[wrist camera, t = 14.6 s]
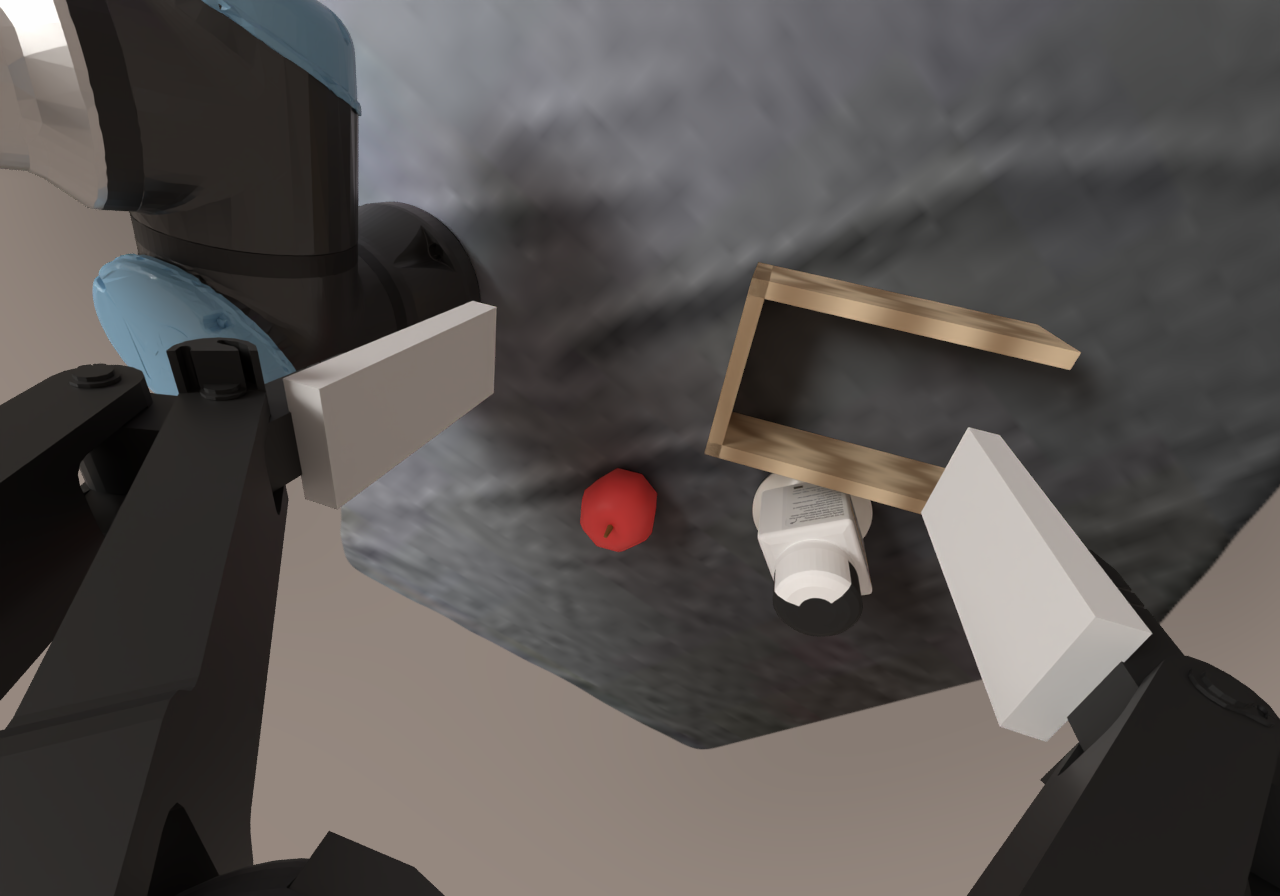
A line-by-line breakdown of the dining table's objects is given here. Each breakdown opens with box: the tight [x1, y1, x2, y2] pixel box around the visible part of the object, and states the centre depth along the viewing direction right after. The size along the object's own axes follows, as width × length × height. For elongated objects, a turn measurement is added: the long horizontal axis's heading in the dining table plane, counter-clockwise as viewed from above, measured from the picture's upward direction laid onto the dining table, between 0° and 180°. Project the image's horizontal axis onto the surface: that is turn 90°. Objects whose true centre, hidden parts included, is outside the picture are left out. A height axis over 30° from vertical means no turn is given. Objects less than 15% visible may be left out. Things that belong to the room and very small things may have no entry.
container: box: [758, 482, 872, 636], centre depth 45 cm, size 8×8×13 cm
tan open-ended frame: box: [705, 262, 1081, 514], centre depth 41 cm, size 21×14×7 cm
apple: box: [580, 468, 657, 552], centre depth 52 cm, size 8×8×8 cm
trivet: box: [753, 473, 872, 538], centre depth 51 cm, size 11×11×1 cm
